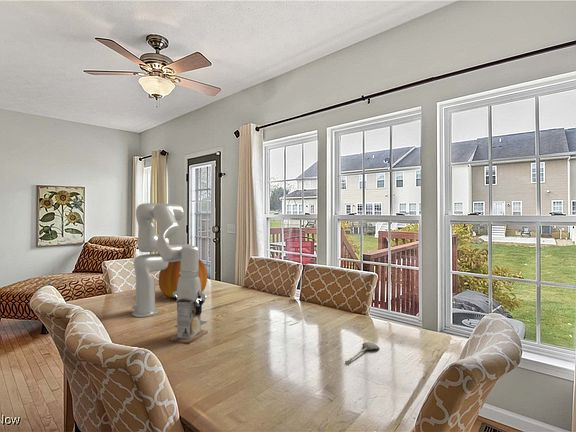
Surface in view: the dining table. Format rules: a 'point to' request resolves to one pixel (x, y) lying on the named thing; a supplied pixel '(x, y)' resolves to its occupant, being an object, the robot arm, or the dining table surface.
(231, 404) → the dining table surface
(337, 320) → the dining table surface
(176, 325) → the color patch mat
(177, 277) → the decorative pumpkin
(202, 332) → the walnut pad
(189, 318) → the coffee box
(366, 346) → the soupspoon
